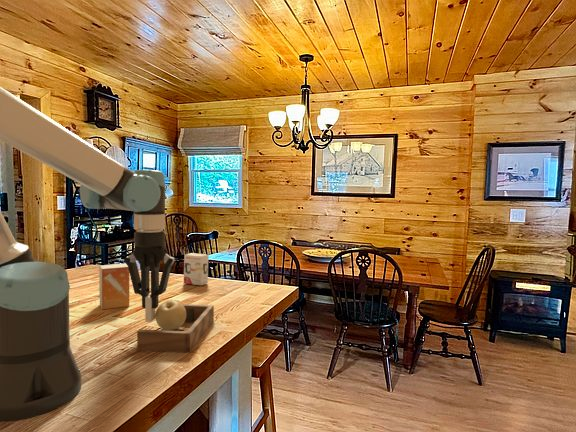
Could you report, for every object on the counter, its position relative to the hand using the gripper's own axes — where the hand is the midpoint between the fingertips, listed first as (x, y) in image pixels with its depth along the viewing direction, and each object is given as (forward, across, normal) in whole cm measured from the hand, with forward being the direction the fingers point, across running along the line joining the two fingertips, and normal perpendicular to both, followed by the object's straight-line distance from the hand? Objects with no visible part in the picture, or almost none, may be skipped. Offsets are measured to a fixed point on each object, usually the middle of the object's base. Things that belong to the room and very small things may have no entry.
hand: (150, 320), depth 97 cm
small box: (+4, +21, -21) cm, 30 cm away
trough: (+3, -8, 0) cm, 9 cm away
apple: (+4, -4, -3) cm, 6 cm away
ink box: (+4, +4, -52) cm, 52 cm away
